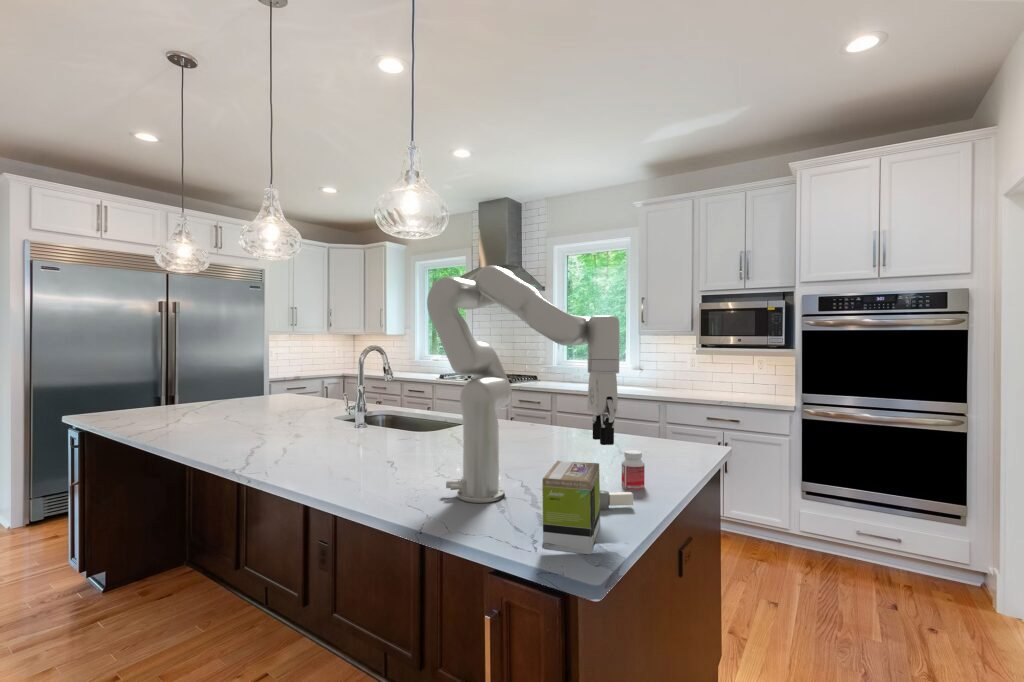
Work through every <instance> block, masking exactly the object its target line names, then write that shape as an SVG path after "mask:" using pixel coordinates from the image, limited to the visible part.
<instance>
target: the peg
mask: <svg viewBox="0 0 1024 682" xmlns="http://www.w3.org/2000/svg"><path fill="white" fill-rule="evenodd" d="M613 506H615V507H616V506H617V507H618V506H634V493H632V492H631V491H623V492H622V491H619V492H618V491H617V492H613V491H612V492H609V491H607V490H601V489H600V511H607V510H608V511H609V509H610V507H613Z"/></svg>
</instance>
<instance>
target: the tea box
mask: <svg viewBox="0 0 1024 682" xmlns="http://www.w3.org/2000/svg"><path fill="white" fill-rule="evenodd" d="M600 483H601V482H600V463H597V462H584V461H583V462H582V461H579V462H578V461H563V460H557V461H556V462H555V463H554V464H553V465H552V467H551V468H550V469H549V470H548V471H547V472H546V473H545V474H544V476H543V478H542V484H541V485H542V486H541V487H542V543H544V544H543V545H542V548H543V549H544V550H547V551H553V552H554V551H555V552H563V553H571V554H579V555H590V556H591V555H592V553H593V549H594V546H595V540H596V537H597V534H598V532H599V529H600V527H601V510H600V490H601V489H600V487H601V486H600Z"/></svg>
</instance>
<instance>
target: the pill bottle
mask: <svg viewBox="0 0 1024 682" xmlns="http://www.w3.org/2000/svg"><path fill="white" fill-rule="evenodd" d="M623 453H624V454H623V456H624V459H622V461H621V487H622V488H623V489H626V490H629V491H641V490H644V489H645V471H646V470H645V462H644V460H643V459H642V457H643V454H642V453H643V452H642V451H640V450H634V449H630V450H624V452H623Z"/></svg>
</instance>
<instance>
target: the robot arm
mask: <svg viewBox="0 0 1024 682" xmlns="http://www.w3.org/2000/svg"><path fill="white" fill-rule="evenodd" d="M494 304H497V305H499V306H500V307H503V309H505V310H506V311H509V312H510V313H512V314H514V315H515V316H517V317H518V318H519V319H520V320H521V321H523V323H525V324H526V325H527V326H529V327H530V328H531V329H533V330H534V331H535V332H537V333H539V334H541V335H542V336H544V337H545V338H547V339H548V340H550V341H552V342H554V343H555V344H557V345H560V346H566V347H567V346H568V347H569V346H571V347H572V346H573V347H574V346H583V345H587V373H588V374H589V376H588V383H587V384H588V387H587V406H586V407H587V410H588V411H589V412H590V413H591V414H592V440H595V441H597V440H599V444H600V445H601V446H612V445H614V444H615V418H616V415H617V414H618V399H619V398H618V381H617V374H620V330H621V329H620V326H621V325H620V320H619V318H618V316H615V315H604V314H603V315H592V316H581V315H575V314H571V313H570V314H569V313H567V312H566V311H564V310H562V309H560V307H557V306H556V305H554V304H552V303H551V302H549V301H548V300H546V299H545V298H543V297H542V295H541V294H540V292H539V290H538V289H536V287H534V286H532V285H531V284H529V283H527V282H526V281H524V280H522V279H520V278H519V277H517V275H516V274H515V273H514V272H513V271H512V270H509V269H507V268H503V267H501V266H497V265H486V266H484V267H482V268H481V269H479V271H478V272H477V274H476V276H475V279H467V278H463V277H460V276H454V275H453V276H452V275H451V276H450V275H447V276H443V277H440V278H438V279H437V280H436V281H434V283H433V284H432V285H431V287H430V289H429V292H428V295H427V299H426V308H427V313H428V316H429V318H430V321H431V322H432V325H433V326H434V329H435V331H436V333H437V335H438V337H439V341H440V343H441V345H442V348H443V350H444V353H445V355H446V358H447V360H448V362H449V364H450V366H451V369H452V370H453V372H454V373H455V374H456V375H459V376H462V377H471V376H472V377H473V379H471V380H470V379H469V381H467V382H466V383H465V384H464V385H463V387H462V389H461V391H460V395H459V400H460V408H461V414H462V423H463V424H462V425H463V426H462V428H463V429H462V431H463V432H462V436H463V437H462V439H463V440H462V441H463V442H462V443H463V444H462V445H463V446H462V447H463V448H462V450H463V452H462V455H463V456H462V461H463V462H462V466H463V467H462V476H461V479H458V480H446V481H445V489H450V491H456V490H457V494H456V496H457V498H458V500H460V501H464V502H467V503H473V504H474V503H476V504H478V503H479V504H482V503H492V502H496V501H499V500H501V499H503V498H504V497H505V490H504V489H503V488H501V487H499V484H500V483H499V481H500V480H499V477H500V476H499V474H500V469H499V468H500V465H499V463H500V460H499V459H500V452H499V451H500V429H499V428H500V425H499V420H498V417H497V411H498V410H500V409H502V408H505V407H506V406H507V405H508V404H509V403H510V401H511V399H512V396H513V395H512V393H513V392H512V385H511V383H510V381H509V378H508V375H507V374H506V371H505V370H504V367H503V364H502V362H501V361H500V358H499V356H498V354H497V352H496V351H495V349H494V348H493V347H492V346H491V345H490V344H488V343H486V342H484V341H481V340H480V341H478V340H475V338H474V336H473V334H472V333H471V329H470V328H469V325H468V323H467V322H466V319H464V317H463V316H462V314H461V313H460V312H459V311H460V310H475V309H480V308H483V307H486V306H491V305H494ZM459 309H460V310H459Z"/></svg>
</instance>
